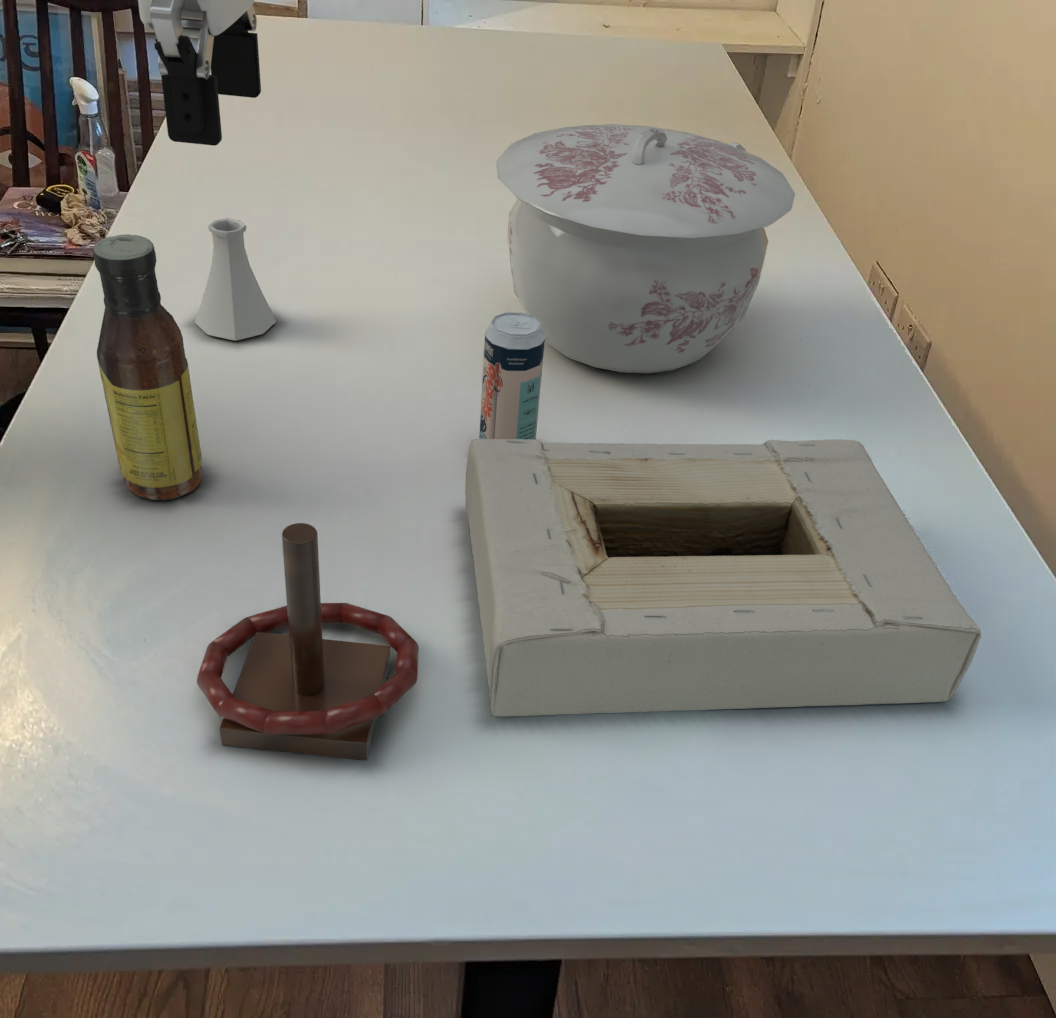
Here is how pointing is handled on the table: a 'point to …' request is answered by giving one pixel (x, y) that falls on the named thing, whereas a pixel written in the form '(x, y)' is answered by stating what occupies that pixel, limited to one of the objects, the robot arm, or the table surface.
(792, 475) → the box
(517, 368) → the beer can
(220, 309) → the flask
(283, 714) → the ring
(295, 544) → the post
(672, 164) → the chamber pot
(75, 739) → the table surface
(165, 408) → the sauce bottle
